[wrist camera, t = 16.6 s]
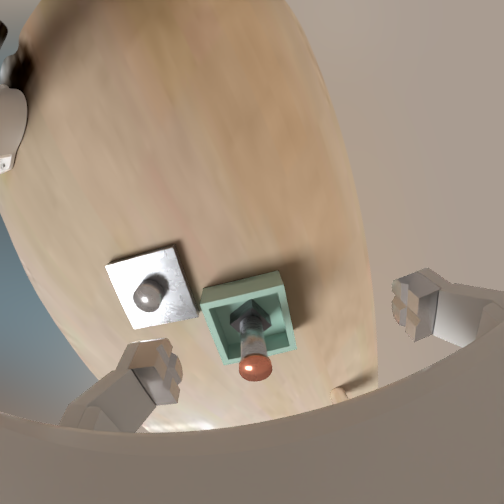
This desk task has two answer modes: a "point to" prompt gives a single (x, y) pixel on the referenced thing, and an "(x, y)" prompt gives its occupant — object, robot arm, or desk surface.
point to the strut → (252, 340)
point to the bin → (232, 297)
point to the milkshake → (338, 395)
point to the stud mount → (153, 288)
